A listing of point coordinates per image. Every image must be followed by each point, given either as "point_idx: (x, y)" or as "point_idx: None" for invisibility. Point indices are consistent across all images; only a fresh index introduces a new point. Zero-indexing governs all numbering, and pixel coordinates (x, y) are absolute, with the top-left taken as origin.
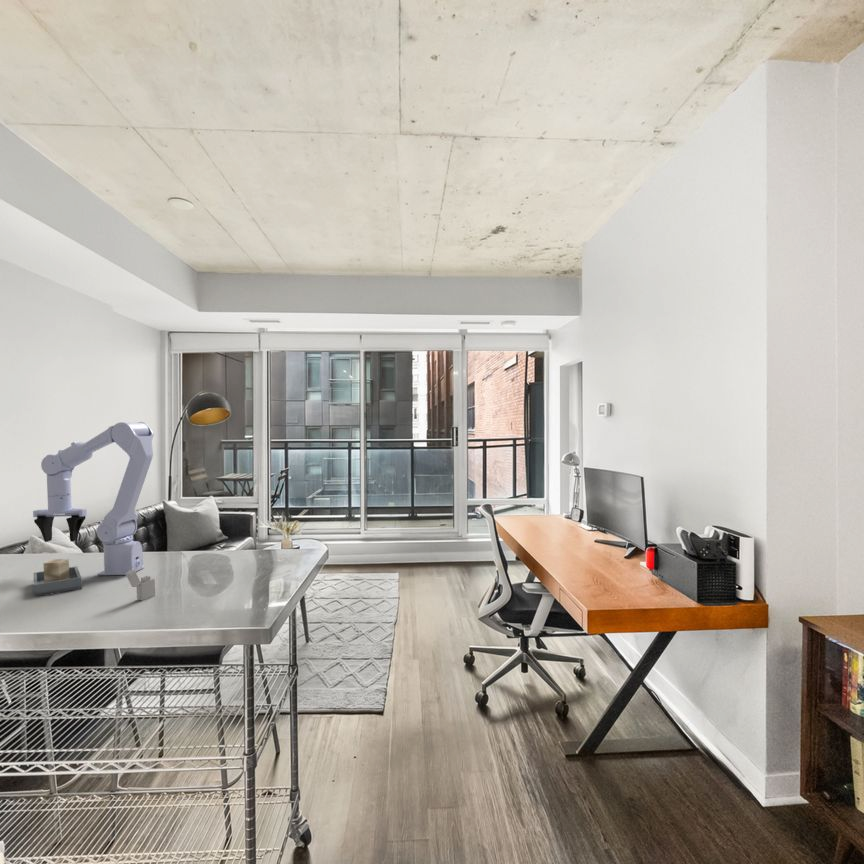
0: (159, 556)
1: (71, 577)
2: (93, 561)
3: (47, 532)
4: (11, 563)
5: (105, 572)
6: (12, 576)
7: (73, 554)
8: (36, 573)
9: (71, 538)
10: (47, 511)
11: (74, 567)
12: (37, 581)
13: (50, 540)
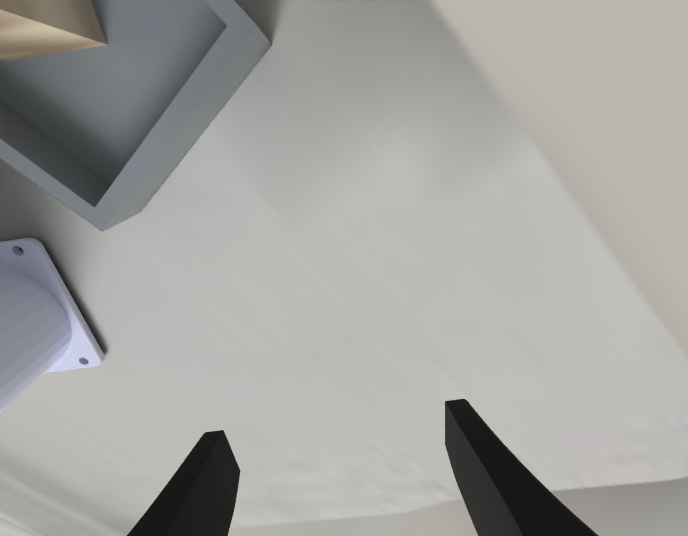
0: (96, 504)
1: (86, 143)
2: (316, 430)
3: (484, 503)
4: (678, 374)
5: (7, 265)
6: (533, 186)
7: None
8: (210, 6)
9: (195, 455)
10: None
11: (87, 202)
12: (225, 25)
13: (445, 436)
